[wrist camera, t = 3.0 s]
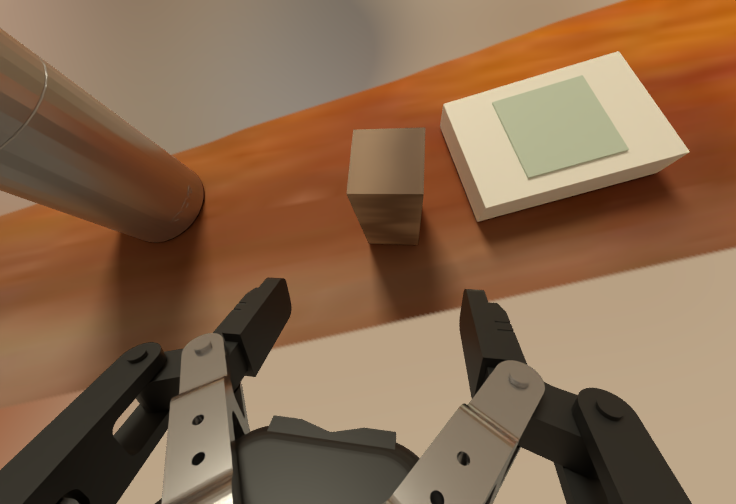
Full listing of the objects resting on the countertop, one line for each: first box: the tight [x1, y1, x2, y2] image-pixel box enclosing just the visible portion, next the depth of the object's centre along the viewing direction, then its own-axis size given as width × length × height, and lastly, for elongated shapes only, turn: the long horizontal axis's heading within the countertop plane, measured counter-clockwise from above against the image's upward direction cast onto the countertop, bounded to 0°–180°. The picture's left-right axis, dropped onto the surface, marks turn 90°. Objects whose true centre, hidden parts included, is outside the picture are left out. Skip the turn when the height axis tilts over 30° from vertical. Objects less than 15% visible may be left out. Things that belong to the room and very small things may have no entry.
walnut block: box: [347, 128, 425, 245], centre depth 22 cm, size 5×5×10 cm
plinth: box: [440, 51, 689, 222], centre depth 25 cm, size 16×11×3 cm
